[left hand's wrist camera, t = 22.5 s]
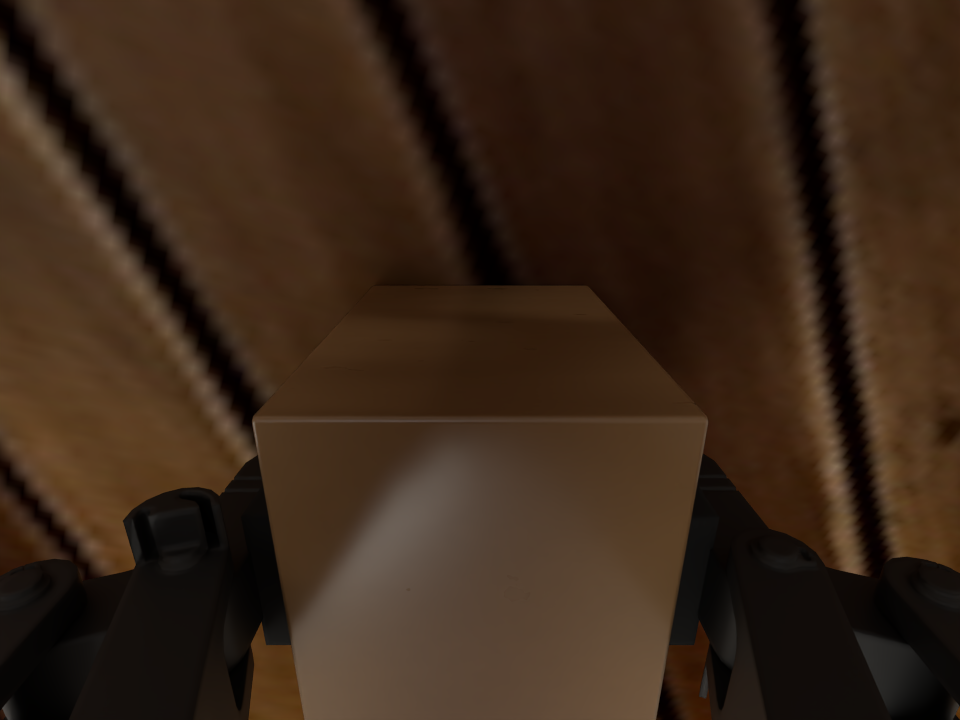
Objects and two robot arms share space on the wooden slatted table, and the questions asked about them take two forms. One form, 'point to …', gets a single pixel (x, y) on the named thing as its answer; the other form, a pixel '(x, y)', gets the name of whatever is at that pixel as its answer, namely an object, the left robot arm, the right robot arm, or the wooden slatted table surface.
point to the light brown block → (480, 508)
